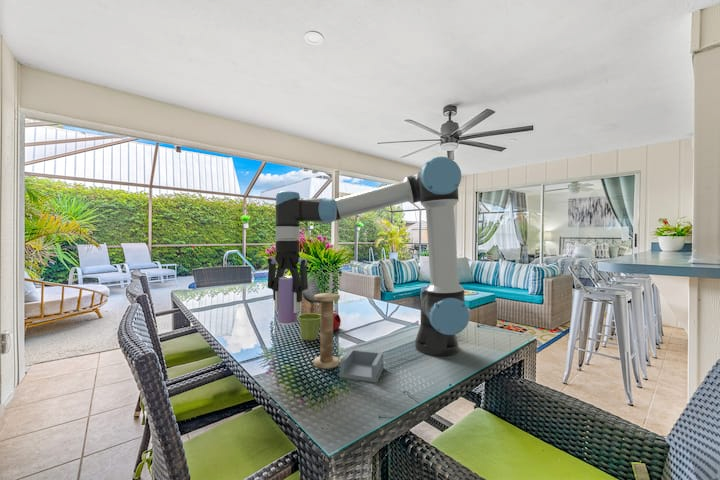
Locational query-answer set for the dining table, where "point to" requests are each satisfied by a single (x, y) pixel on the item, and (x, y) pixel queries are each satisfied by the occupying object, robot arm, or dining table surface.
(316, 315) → the plant pot
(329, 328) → the spool
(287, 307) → the beverage can
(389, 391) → the dining table surface
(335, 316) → the pomegranate
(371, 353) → the gray open box
